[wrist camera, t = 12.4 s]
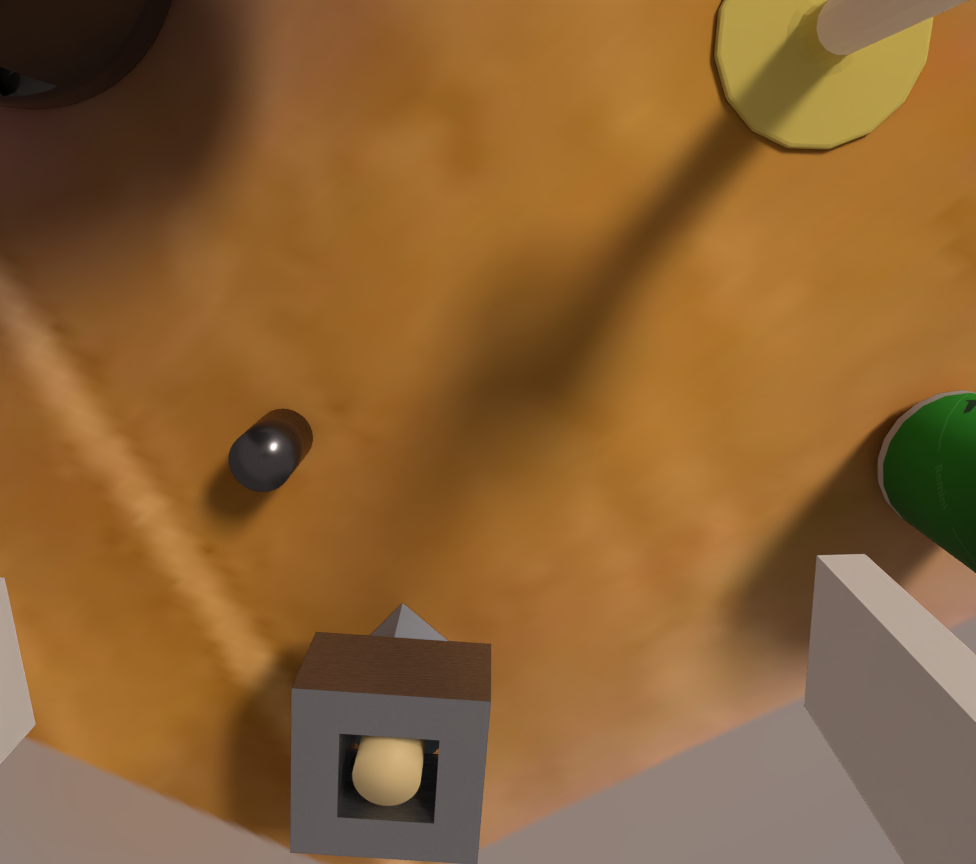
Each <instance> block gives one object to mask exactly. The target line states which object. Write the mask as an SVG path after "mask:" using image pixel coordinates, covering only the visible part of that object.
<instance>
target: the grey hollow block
mask: <svg viewBox="0 0 976 864" xmlns="http://www.w3.org/2000/svg"><path fill="white" fill-rule="evenodd" d="M490 705H491V644H485V643H470V642H456V641H441V640H426V639H412V638H397V637H382V636H368V635H353V634H338V633H324V632H315V635H314V637H313V639H312V642H311V644H310V646H309V649H308V651H307V653H306V656H305V658H304V660H303V663H302V665H301V667H300V670H299V672H298V674H297V677H296V679H295V681H294V684H293V686H292V696H291V830H290V852H291V853H306V854H322V855H337V856H353V857H368V858H383V859H399V860H414V861H430V862H445V863H461V864H477V860H478V849H479V837H480V825H481V813H482V801H483V789H484V777H485V765H486V753H487V741H488V729H489V717H490ZM355 735H367V736H382V737H397V738H412V739H427V740H439V754H428V753H424V760H423V767H422V775H421V782H420V786H419V788H418V790H417V792H416V793H415V795H414V796H413V797H412V798H410V799H409V800H407V801H406V802H404V803H401V804H398V805H393V806H383V805H378V804H375V803H372V802H370V801H368V800H366V799H365V798H364V797H362V796H361V795H360V794H359V792H358V791H357V790H356V788H355V786H354V783H353V778H352V773H353V768H354V764H355V760H356V756H357V752H358V749H355Z"/></svg>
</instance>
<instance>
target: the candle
mask: <svg viewBox="0 0 976 864" xmlns="http://www.w3.org/2000/svg"><path fill="white" fill-rule="evenodd" d="M966 1H968V0H723V1H722V4H721V6H720V8H719V10H718V18H717V29H716V39H715V50H714V59H715V63H716V66H717V70H718V73H719V77H720V80H721V84H722V87H723V91H724V95H725V98H726V100H727V101H728V102H729V103H730V105H731V106H732V107H733V108H734V110H735V111H736V112H737V113H738V115H739V116H740V117H741V118H742V120H743V121H744V122H745V123H746V125H747V126H748V127H749V128H750V129H751V131H753V132H755V133H757V134H759V135H761V136H763V137H765V138H767V139H769V140H771V141H773V142H775V143H777V144H779V145H781V146H783V147H786V148H794V149H827V150H828V149H831V148H834V147H836V146H839V145H842V144H844V143H847V142H849V141H852V140H854V139H857V138H860V137H862V136H865V135H867V134H870V133H871V132H872V131H873V130H874V129H875V128H876V127H878V126H879V125H880V124H881V123H882V122H883V121H884V120H885V119H887V118H888V117H889V116H890V115H891V114H892V113H893V112H894V111H895V110H897V109H898V108H899V107H900V106H901V105H902V104H903V103H904V101H905V100H906V98H907V96H908V94H909V92H910V91H911V89H912V87H913V85H914V83H915V81H916V80H917V78H918V76H919V74H920V72H921V70H922V69H923V67H924V65H925V63H926V61H927V55H928V49H929V42H930V36H931V30H932V24H933V18H934V16H935V15H937V14H940V13H942V12H944V11H946V10H948V9H951V8H953V7H955V6H957V5H959V4H962V3H964V2H966Z"/></svg>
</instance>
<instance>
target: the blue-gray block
mask: <svg viewBox="0 0 976 864" xmlns="http://www.w3.org/2000/svg"><path fill="white" fill-rule="evenodd" d="M370 636H382V637H397V638H412V639H426V640H441V641H448V640H446V639H445V638H444V637H443V636H442V635H440V634H439V633H438V632H437V631H436V630H434V629H433V628H432V627H431V626H430V625H428V624H427V623H426V622H425V621H424V620H422V619H421V618H420V617H419V616H418V615H416V614H415V613H414V612H413V611H412V610H410V609H409V608H408V607H407V606H405V605H404V604H403V603H402V604H401V605H400V606H399V607H398V608H397V609H396V610H395V611H394V612H393V613H392V614H391V615H390V616H389V617H388V618H387V619H386V620H385V621H384V622H383V623H382V624H381V625H380V626H379V627H378V628H377V629H376V630H375V631H374V632H373V633H372V634H371V635H370ZM355 743H357V744H358V745H359V748H358V752H357V756H356V760H355V764H354V768H353V773H352V778H353V783H354V786H355V788H356V790H357V791H358V792H359V794H360V795H361V796H362V797H364V798H365V799H366V800H368V801H370V802H372V803H375V804H378V805H383V806H393V805H398V804H401V803H404V802H406V801H407V800H409V799H410V798H412V797H413V796H414V795H415V793H416V792H417V790H418V788H419V786H420V782H421V775H422V767H423V760H424V753H428V754H433V753H434V752H435V751H436V750H437V749H438V748H439V740H427V739H412V738H397V737H382V736H367V735H355Z"/></svg>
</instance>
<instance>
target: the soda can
mask: <svg viewBox="0 0 976 864" xmlns="http://www.w3.org/2000/svg"><path fill="white" fill-rule="evenodd" d="M878 483H879V485H880V488H881V490H882V493H883V496H884V498H885V501H886V502H887V503H888V504H889V505H890V506H891V507H892V509H893V510H894V511H895V512H896V513H897V514H898V515H899V516H900V517H901V518H902V519H904V520H905V521H907V522H908V523H909V524H911V525H912V526H913V527H915V528H916V529H917V530H919V531H920V532H921V533H923V534H924V535H925V536H927V537H928V538H929V539H931V540H932V541H933V542H935V543H936V544H938V545H939V546H940V547H942V548H943V549H944V550H946V551H947V552H948V553H950V554H951V555H952V556H954V557H955V558H956V559H958V560H959V561H960V562H962V563H963V564H964V565H966V566H967V567H969V568H970V569H971V570H973V571H974V572H975V573H976V392H970V391H965V390H961V391H954V392H946V393H939V394H937V395H934V396H932V397H930V398H928V399H925V400H923V401H921V402H919V403H917V404H915V405H914V406H913V407H912V408H910V409H909V410H908V411H907V412H906V413H904V414H903V415H902V416H901V417H900V418H898V419H897V421H896V422H895V424H894V425H893V427H892V428H891V430H890V431H889V432H888V434H887V435H886V437H885V438H884V441H883V444H882V448H881V451H880V454H879V457H878Z"/></svg>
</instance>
